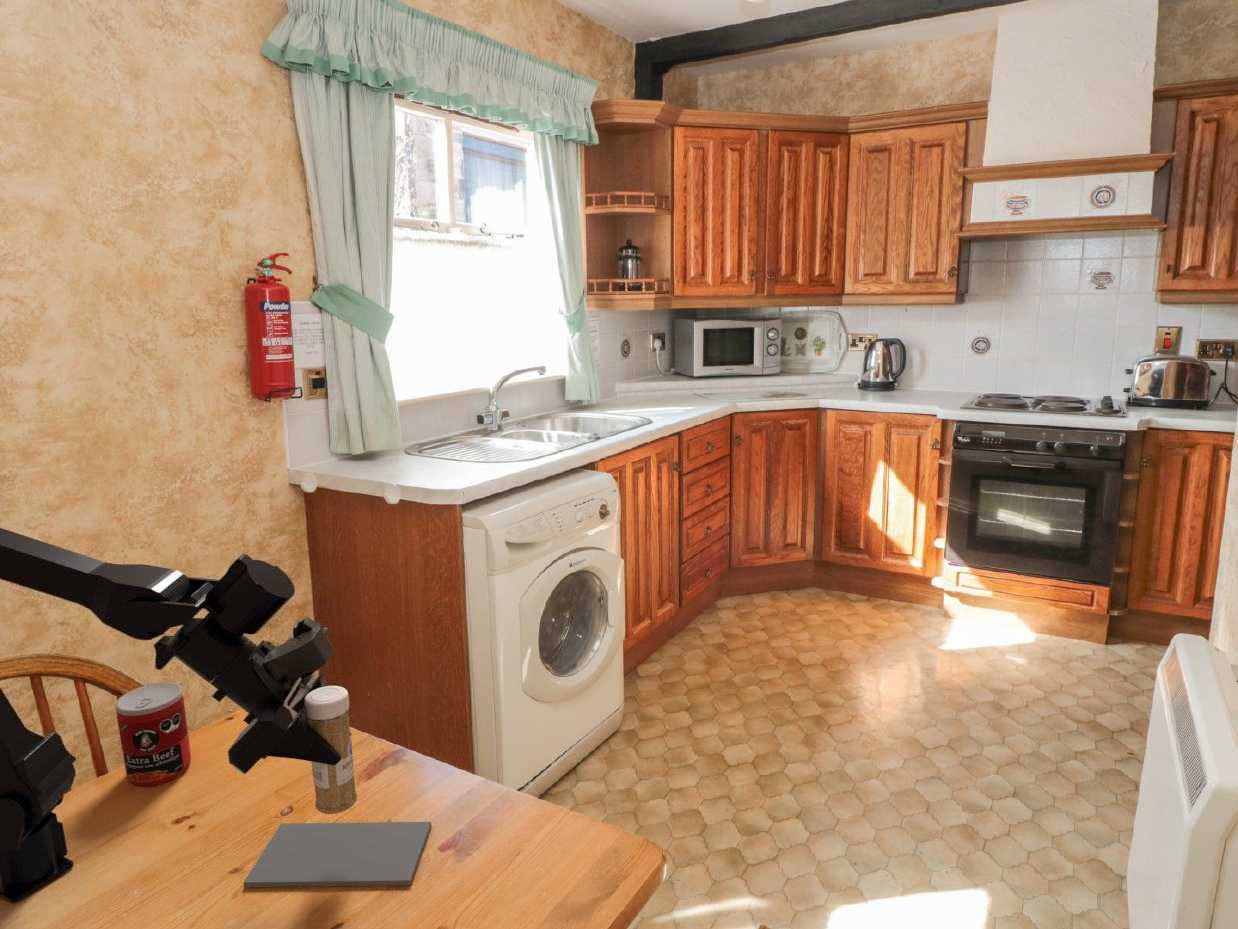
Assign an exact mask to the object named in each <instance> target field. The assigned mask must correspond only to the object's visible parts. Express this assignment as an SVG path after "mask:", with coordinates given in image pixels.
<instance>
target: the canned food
mask: <svg viewBox="0 0 1238 929" xmlns="http://www.w3.org/2000/svg"><path fill="white" fill-rule="evenodd" d="M115 713H116V718H117V725H118V731H119V732H118V733H119V738H120V739H119V740H120V744H121V750H122V755H123V756H122V758H123V761H124V769H125V775H126V777H127V779H128V781H129V783H131V785H134V786H136V787H141V788H143V787H144V788H145V787H146V788H147V787H155V786H158V785H163V784H166V783H169V782H170V781H173V780H175V779H177V778H178V777H180V776H181V775H183V774H184V773H185V772H186V771H187V770H188V768H190V765H191V761H192V760H191V759H192V753H191V746H190V745H191V744H190V737H189V730H188V724H187V723H188V721H187V716H186V707H185V699H184V695H183V689H182V687H181V686H180V684H177V683H175V682H174V683H172V682H157V683H151V684H147V685H142V686H141V687H140V686H139V687H137V688H134V689H132V690H131V691H128V692H127V693H125V694H123V695H122V696H120V697H119V698H118V699H117V701H116V703H115Z"/></svg>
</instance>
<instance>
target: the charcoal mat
mask: <svg viewBox="0 0 1238 929" xmlns="http://www.w3.org/2000/svg"><path fill="white" fill-rule="evenodd" d="M431 830H432V821H380V822H379V821H373V822H372V821H370V822H311V823H310V822H308V823H307V822H304V823H301V822H299V823H296V822H295V823H292V822H291V823H280V825H279V826H278V828H277V829H276V831H275V832H274V833H273V836H272V837H271V838H270V840H269V842H268V843H267V845H266V847H265V848H264V849H263V851H262V852H261V854H260V856H259V858H257V860H256V862H255V864H254V865H253V867H252V868H251V870H250V872H249V873H248V875H247V876H246V877H245V879H244V881H243V887H244V888H280V887H281V888H283V887H284V888H286V887H287V888H294V887H296V888H297V887H363V886H364V887H365V886H366V887H375V886H385V887H386V886H411V885H412V882H413V880H414V877H415V874H416V872H417V869H418V866H419V863H420V860H421V857H422V854H423V851H424V848H425V845H426V842H427V840H428V837H429V835H430V832H431Z"/></svg>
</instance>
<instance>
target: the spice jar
mask: <svg viewBox="0 0 1238 929" xmlns="http://www.w3.org/2000/svg"><path fill="white" fill-rule="evenodd" d="M349 697H350V696H349V692H348V690H347V689H346V688H344V687H343V686H339V685H326V686H325V687H321V688H317V689H315V690H313V691H311V692H310V693H308V694H307V695H306V697H305V699H304V704H305V706H306V709H307V716H308V723H309V725H310V726H311V727H312V728H313V729H314V730H315V731H317V732H318V733H319V734H320V735H321V736H322V737H323V738H324V739H325V740H326V741H327V742H328V743H329V744H330V745H331V746H332V747H333V748H334V749H335V750H336V751H337V752H338V753H339V754H340V756H341V760H340V761H339V762H338V763H337V764H336V765H329V764H323V763H317V762H311V761H310V762H311V771H312V780H313V784H314V792H315V802H314V803H315V808H316V810H317V811H318V812H320V813H322V814H324V815H325V814H326V815H335V814H339V813H343V812H345V811H347V810H349V809H350V808H352V807H353V806H354V805H355V803H356V802H357V800H358V793H357V791H356V780H355V766H354V757H353V747H352V746H353V743H352V735H351V736H350V732H351V729H350V718H349V717H350V716H349V708H350V698H349Z"/></svg>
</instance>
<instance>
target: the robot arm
mask: <svg viewBox="0 0 1238 929" xmlns="http://www.w3.org/2000/svg"><path fill="white" fill-rule="evenodd" d="M0 580H2V581H5V582H7V583H11V584H13V585H17V586H21V587H23V588H26V589H29V590H33V591H36V592H39V593H42V594H46V595H49V596H52V597H56V598H58V599H61V600H63V601H67V602H71V603H73V604H76V605H79V606H81V607H84V608H86V609H88V610H89V611H90V612H91V613H92V614H94V615H95V617H96V618H97V619H98V620H99V621H100V622H101V623H102V624H103V625H105V626H107V627H109V628H112V629H114V630H115V631H118V632H119V633H122V634H124V635H126V636H127V637H129V638H133V639H134V640H139V641H151V640H154V639H156V638H158V637H160V636H161V638H159V640H157V641H156V642H155V643H154V644H153V648H154V651H155V659H154V660H155V664H154V666H155V667H154V668H155V669H156V670H158V671H160V670H163V669H164V668H165V667H166V666H167V665H168V664H169V663H170V662H171V661H172V659H174V658H176V659H177V660H179V661H180V662H181V663H183V664H184V665H185V666H186V667H187V668H189V669H190V670H192V671H193V672H194V673H195V674H197V675H198V676H199V677H201V678H203V679H204V680H205V681H206V682H207V683H209V685H211V686H212V687H214V688H215V689H216V691H214V693H213V694H212V696H211V697H212V698H213V699H214V700H216V701H217V702H218V703H221V701H222V700H223V699H224V698H225V697H226V698H228V699H229V700H231V701H232V702H233V703H235V704H236V705H237V706H239V707H240V708H241V709H243V710H244V711H245V712H246V713H247V715H245V717H244V718H243V720H242V721H243V722H245V723H246V724H247V726H246V727H245V728H244V729H242V731H241V732H240V733H239V735H238V736H237V738H236V739H235V741H234V742H233V743H232V745H231V746H230V747H229V749H228V750H227V754H228V763H229V764H230V765H231V766H232V767H234V768H235V769H236V770H238V771H239V772H241V773H242V774H243V775H245V774H247V773H248V772H249V771H250V770H251V769H252V768H253V767H254V766H255V765H256V764H257V763H258V762H259V761H260V760H261V759H262V760H265V759H267V758H268V757H272V758H273V757H274V758H284V759H294V760H301V761H306V762H317V763H323V764H329V765H336V764H337V763H338V762H339V761H340V760H341V756H340V754H339V753H338V752H337V751H336V750H335V749H334V748H333V747H332V746H331V745H330V744H329V743H328V742H327V741H326V740H325V739H324V738H323V737H322V736H321V735H320V734H319V733H318V732H317V731H315V730H314V729H313V728H312V727H311V726H310V725H309V723H308V716H307V709H306V706H305V704H304V699H305V697H306V695H307V694H308V693H310V692H311V691H313V690H315V689H317V688H321V687H325V686H327V685H326V680H327V671H326V670H324V671H323V672H322V673H320V674H319V676H318V677H315V676H314V675H313V674H314V673H315V672H316V671H318V670H320V669H322V668H324V666H326V665H327V664H328V662H329V659H330V658H331V654H333V653H334V651H335V649H334V647H333V645H332V644H331V642H330V640H329V638H328V637H329V634H330V629H329V628H328V627H324V626H323V625H322V623H321V622H320V623H318V622H317V621H315V620H313V619H312V618H311V617H306V618H303V619H301V620H299V621H298V622H297V623H296V624H295V625H294V627H293V628H292V637H289V638H288V639H287V640H285V642H284V643H280V645H278V646H276V645H275V644H274V643H272V642H271V641H269V640H264V639H262V640H261V641H260V642H259V643H258V644H256V643H255V642H253V640H250V638H248V637H247V636H246V635H256V634H258V633H259V632H260V631H261V630H262V629H263V628H264V627H265V626H266V624H268V623H269V621H270V620H271V619H272V618H273V617H275V615H276V614H277V613H279V611H280V610H281V609H282V608H283V607H284V606H285V605H286V604H287V603H288V602H289V601H290V599H291V598H292V597H294V596H295V593H296V589H295V585H294V583H293V581H292V579H291V578H290V577H289V575H288V574H287V573H286V572H284V571H283V570H282V569H281V568H280V567H279V566H277V565H272V564H271V563H269V562H266V561H264V560H261V559H253V558H252V557H250V556H249V555H248V554H247V553H242V554H241V555H240V556H238V558H236V559H235V560H234V561H233V562H232V563H231V565H230V566H229V567H228V568H227V571H226V572H225V573H224V575H223V576H222V577H221V578H220V579H215V578H214V579H213V578H203V577H202V578H201V577H195V576H194V577H193V576H187V575H186V574H185V573H183V572H181V571H179V570H177V569H173V568H169V567H163V566H156V565H150V564H144V563H142V564H140V563H139V564H138V563H135V564H133V563H132V564H128V563H127V564H124V563H122V564H120V563H117V564H116V563H113V562H112V563H111V562H107V561H103V560H100V559H96V558H93V557H91V556H88V555H84V554H81V553H79V552H75V551H72V550H69V549H67V548H63V547H61V546H57V545H53V544H51V543H48V542H44V541H41V540H38V539H35V538H33V537H30V536H26V535H24V534H21V533H17V532H14V531H12V530H9V529H4V528H2V527H0ZM203 609H204V610H206V612H208V613H207V614H206V615H205V616H204V617H196V616H197V615H198V613H200V612H201V611H202V610H203ZM176 627H179V628H178V629H177V631H175V633H174V634H173V635H164V634H166V632H167V631H169V630H170V629H171V628H176ZM350 736H351V737H352V732H351V731H350ZM76 760H77V758H76V757H75V756H74V755H73V754H72V753H70V752H69V751H68V749H67V748H66V745H65V744H64V741H63V740H62V736H61V735H60V734H59V733H57V732H55V731H53V732H51V733H50V734H48V735H47V736H43V735H41V734H38V733H36V732H34V731H31V730H29V729H28V728H27V726H25V724H24V722H23V721H22V719H21V718H20V716H19V715H18V713H17V711H16V710H15V709H14V707H13V705H12V704H11V702H10V701H9V699H8V697H7V696H6V694H5V693H4V691H3V690H2V687H0V898H2V899H4V900H5V901H8V902H10V903H15V902H16V903H17V902H18V901H20V900H21V899H23V898H25V897H26V896H28V895H29V894H31V893H32V892H35V891H36V890H38V889H39V888H41V887H43V886H45V885H46V884H47V883H49V882H51V881H52V880H54V879H55V878H57V877H58V876H60V875H63V874H64V873H65V872H66V871H68V870H70V869H72V868H73V867H74V861H73V860H72V859H69V858H67V857H66V856H67V855H68V852H69V851H68V847H67V841H66V835H65V829H64V824H63V822H61V821H58V816H57V814H56V813H54V812H53V811H54V810H55V809H56V807H57V806H60V805H61V803H62V802H63V801H64V800H63V799H64V796H65V794H66V793H67V792H68V791H69V790H70V789H71V788H72V786H73V783H74V781H75V777H76V776H77V774H76V768H75V765H74V763H75V761H76Z"/></svg>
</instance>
